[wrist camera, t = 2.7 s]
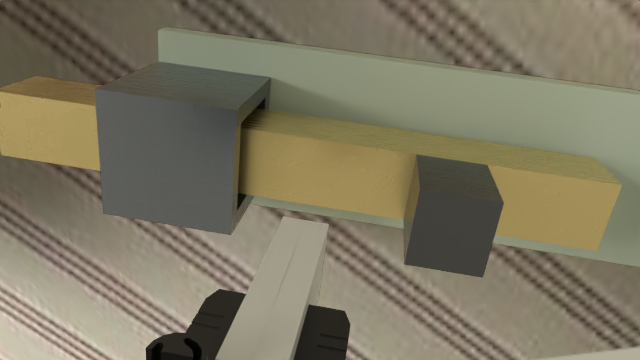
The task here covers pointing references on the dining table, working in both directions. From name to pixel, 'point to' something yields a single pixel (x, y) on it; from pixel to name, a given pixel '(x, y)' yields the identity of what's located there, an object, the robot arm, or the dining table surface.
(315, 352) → the robot arm
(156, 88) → the guide sleeve
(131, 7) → the dining table surface
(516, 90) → the base plank
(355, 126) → the sliding bolt
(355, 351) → the dining table surface
